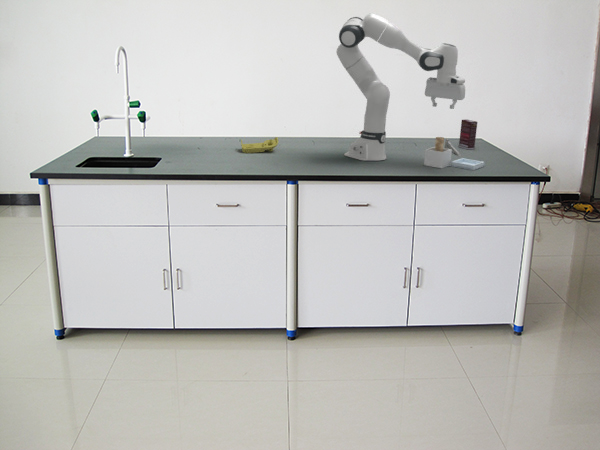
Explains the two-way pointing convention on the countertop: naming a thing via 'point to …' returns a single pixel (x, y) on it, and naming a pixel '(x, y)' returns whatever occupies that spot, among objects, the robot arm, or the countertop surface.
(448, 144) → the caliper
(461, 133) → the supplement box
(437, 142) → the dowel
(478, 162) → the tray
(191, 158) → the countertop surface
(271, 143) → the plastic component
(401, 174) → the countertop surface
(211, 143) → the countertop surface
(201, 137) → the countertop surface
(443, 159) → the white open box
